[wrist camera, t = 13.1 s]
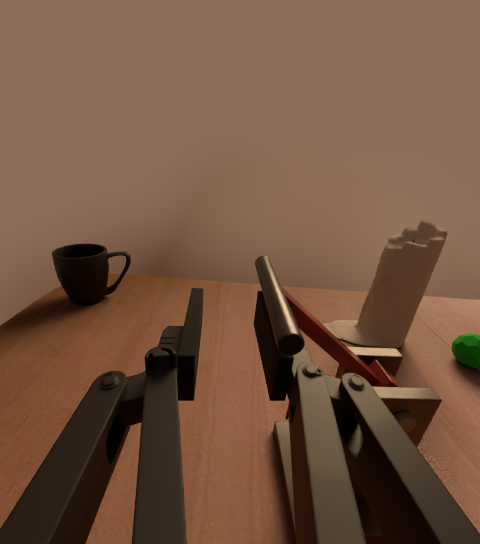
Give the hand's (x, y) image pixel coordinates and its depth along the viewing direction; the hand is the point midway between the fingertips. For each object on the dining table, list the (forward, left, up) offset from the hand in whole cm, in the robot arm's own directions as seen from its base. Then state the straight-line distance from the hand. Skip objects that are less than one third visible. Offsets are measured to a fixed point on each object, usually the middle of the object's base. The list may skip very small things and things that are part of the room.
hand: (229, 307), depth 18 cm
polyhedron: (+40, +10, -17) cm, 44 cm away
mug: (-20, +31, -17) cm, 41 cm away
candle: (+27, +18, -17) cm, 36 cm away
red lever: (+6, -2, -3) cm, 7 cm away
